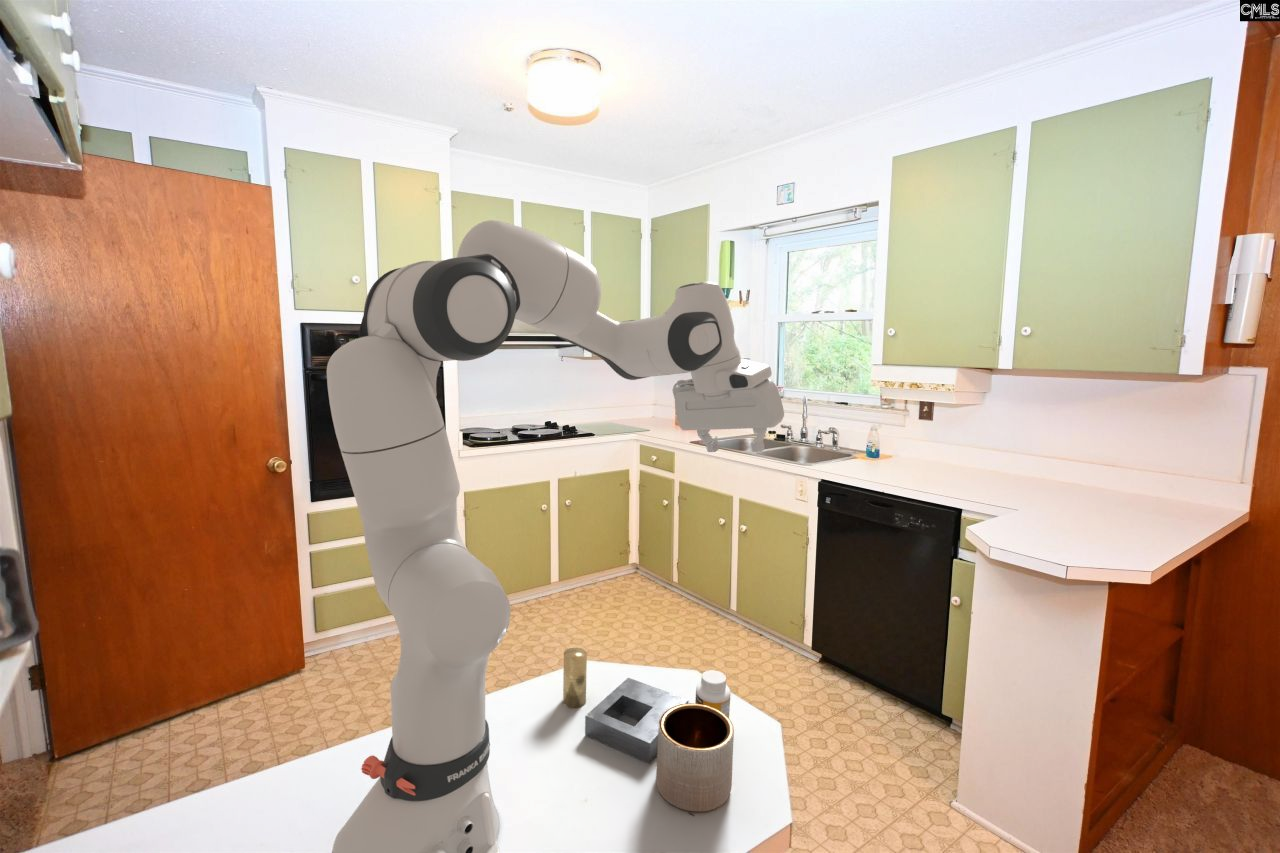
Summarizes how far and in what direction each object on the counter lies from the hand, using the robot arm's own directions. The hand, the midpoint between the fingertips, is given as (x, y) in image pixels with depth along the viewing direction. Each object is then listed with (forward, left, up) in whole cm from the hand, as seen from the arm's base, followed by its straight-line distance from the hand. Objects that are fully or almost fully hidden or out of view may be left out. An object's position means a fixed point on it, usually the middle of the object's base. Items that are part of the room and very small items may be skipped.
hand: (735, 450), depth 106 cm
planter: (-27, -7, -45) cm, 52 cm away
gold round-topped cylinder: (-20, +20, -44) cm, 53 cm away
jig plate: (-20, +7, -44) cm, 49 cm away
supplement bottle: (-15, -4, -45) cm, 47 cm away
